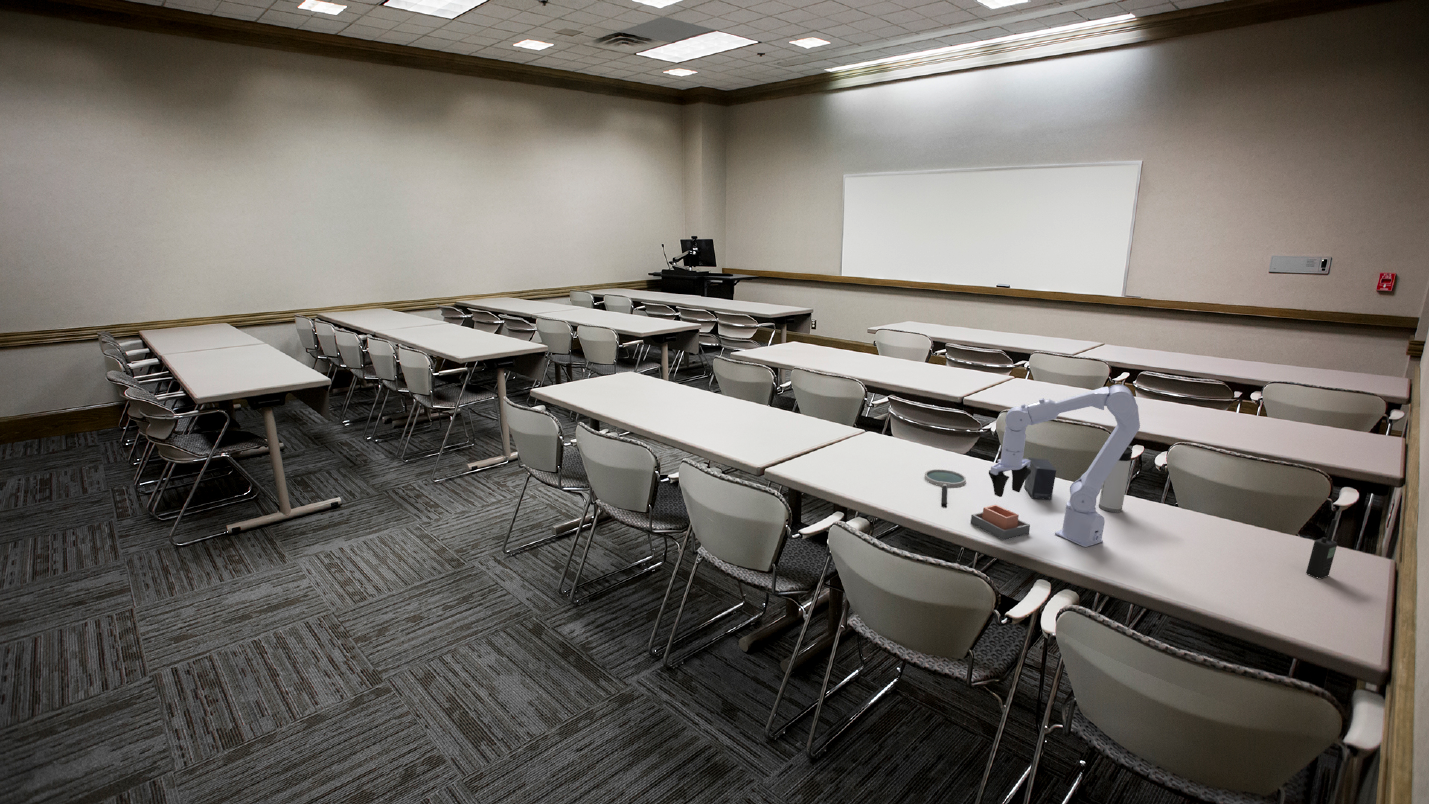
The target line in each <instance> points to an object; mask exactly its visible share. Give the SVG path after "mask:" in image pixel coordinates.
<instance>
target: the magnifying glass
mask: <svg viewBox="0 0 1429 804" xmlns="http://www.w3.org/2000/svg"><path fill="white" fill-rule="evenodd" d="M924 480H925V481H927V482H928V481H929V482H928V483H931V484H933V485H935V484H937V485H936V486H939V485H940V486H939V487H941V507H944V508H947V507H948V488H957V487H962V486H964V485H965V484H966V482H967V481H966V480H967V479H966V476H965V475H963V474H962V473H960V472H957V471H953V470H950V469H942V468H939V469H937V468H936V469H934V468H933V469H929V470H927V471H925V473H924ZM963 484H964V485H963Z"/></svg>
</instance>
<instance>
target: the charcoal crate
mask: <svg viewBox="0 0 1429 804" xmlns="http://www.w3.org/2000/svg"><path fill="white" fill-rule="evenodd" d="M982 516H983V511H982V512H977V513H973V514H971V517H970V524H971V525H972V526H975V527H976V528H978V529H981V530H982V531H985V532H986V533H988V534H989V535H992V536H993V537H996V538H997V539H1000V540H1001V541H1006V540H1011V539H1014V538H1018V537H1022V536H1026V535H1029V534H1030V529H1031V524H1030V523H1027V522H1025V521H1023V520H1020V519H1019V518H1018V524H1017V527H1015V528H1011V529H1007V530H1003V529H1001V528H999V527H997V526H995V525H993V524H991V523H989V522H987V521H985V520H983V519H982Z"/></svg>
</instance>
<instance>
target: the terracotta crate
mask: <svg viewBox="0 0 1429 804" xmlns="http://www.w3.org/2000/svg"><path fill="white" fill-rule="evenodd" d="M982 512H983V516H982V519H983V520H985V521H987V522H989V523H991V524H993V525H995V526H997V527H999V528H1001V529H1003V530H1007V529H1011V528H1015V527H1017V524H1018V519H1019V514H1018V513H1015V512H1014V511H1011V510H1009V509H1008V508H1004V507H1003V506H1000V505H998V504H992V505H989V506H984V507H983V510H982Z"/></svg>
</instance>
